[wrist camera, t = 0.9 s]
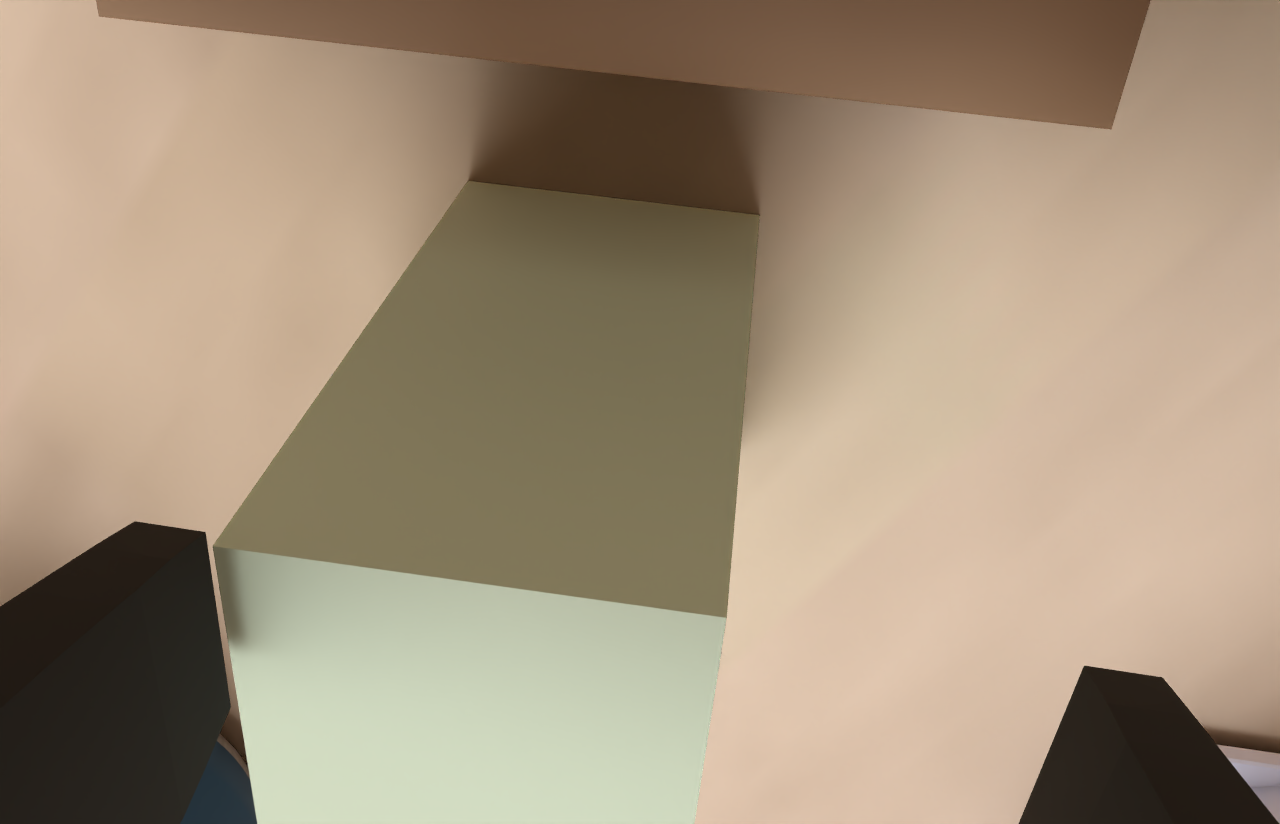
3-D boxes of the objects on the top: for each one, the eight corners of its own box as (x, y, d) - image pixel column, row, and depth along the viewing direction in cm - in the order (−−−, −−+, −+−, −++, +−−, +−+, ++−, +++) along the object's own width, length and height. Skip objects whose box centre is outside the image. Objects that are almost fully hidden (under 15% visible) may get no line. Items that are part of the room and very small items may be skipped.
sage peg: (725, 458, 20) (676, 934, 12) (469, 425, 20) (265, 869, 12) (759, 215, 17) (726, 617, 10) (468, 180, 17) (212, 546, 10)
